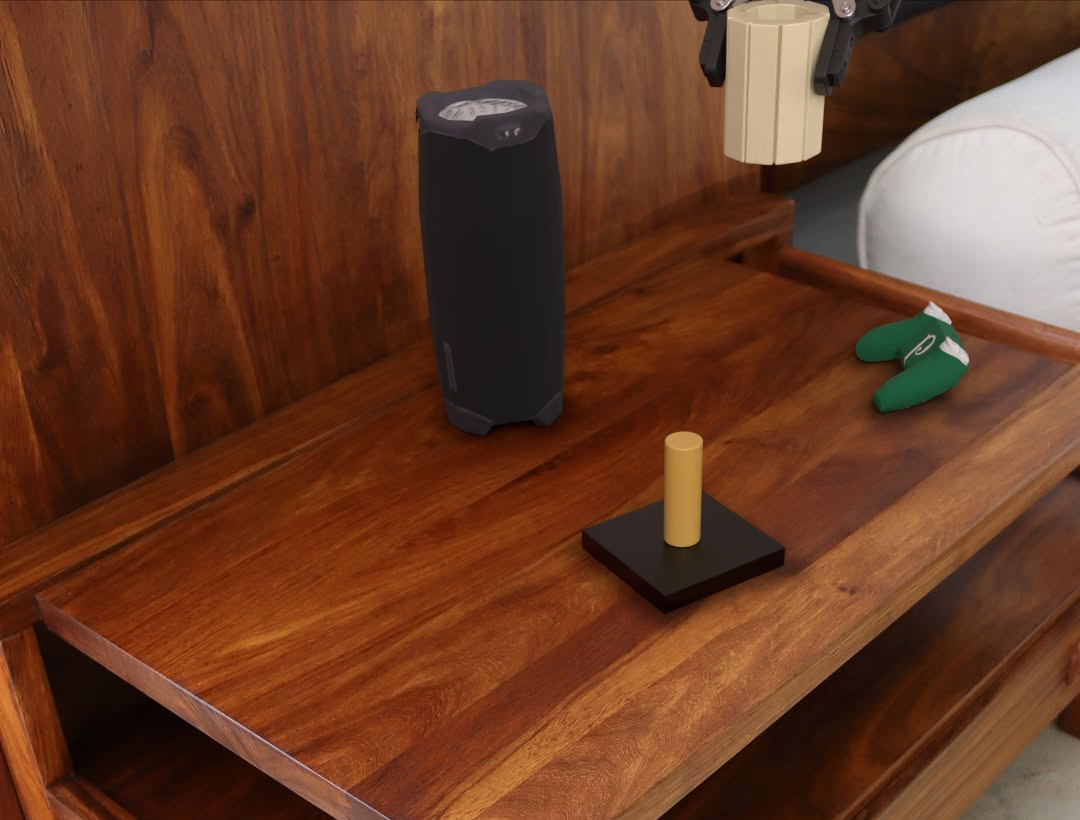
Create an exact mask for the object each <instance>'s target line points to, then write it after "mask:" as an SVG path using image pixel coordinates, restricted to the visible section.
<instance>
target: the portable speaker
mask: <svg viewBox="0 0 1080 820" xmlns="http://www.w3.org/2000/svg"><path fill="white" fill-rule="evenodd" d="M553 114H554V113H553V112H552V108H551V103H550V100H549V96H548V94H547V92H546V90H545V89H544V87H543V86H542V85H541V84H538V83H535V82H531V81H530V80H529V81H528V80H526V79H494V80H491V81H489V82H488V83H486V84H483V85H477V86H473V87H468V88H463V89H458V90H453V91H445V92H441V91H440V90H433V91H426V92H425V93H424V94H423V95H421V96H420V97H418V98H417V99H416V108H415V113H414V116H415V125H417V123H418V126H419V128H418V129H417V152H418V153H417V154H418V157H417V158H418V159H417V161H418V168H417V169H418V214H419V215H418V216H419V225H420V226H419V227H420V236H421V247H422V256H423V266H424V277H425V287H426V297H427V298H426V299H427V308H428V318H429V328H430V334H431V340H432V345H433V351H434V352H433V353H434V358H435V363H436V370H437V375H438V381H439V387H440V393H441V398H443V404H444V408H445V413H446V416H447V420H448V424H450V425H452V426H454V427H456V428H457V429H459V430H461V431H463V432H464V433H469V434H475V435H479V436H483V437H486V435H487V434H488V432H489V431H490V430H491V429H492V428H493V426H499V425H506V424H512V423H519V422H528V421H532V422H533V423H534V425H536V427H547V426H550V425H551V424H552V423H553V422H554V421H555V420H556V419H557V418H558V417H559V416H560V415H561V414H562V413H563V403H564V402H563V401H564V400H563V399H564V398H563V397H564V380H565V346H566V345H565V343H566V279H565V246H564V245H565V244H564V243H565V242H564V217H563V215H564V214H563V212H564V211H563V191H562V190H563V189H562V182H561V174H560V173H561V172H560V165H559V157H558V149H557V141H556V133H555V124H554V123H555V122H554V115H553Z"/></svg>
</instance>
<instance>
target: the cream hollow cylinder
mask: <svg viewBox="0 0 1080 820" xmlns="http://www.w3.org/2000/svg"><path fill="white" fill-rule="evenodd" d="M828 20H831V13H830V9H829V7H828V6H827V5H825V4H821V3H819V2H814V1H810V0H763V1H755V2H748V4H746V3H744V4H741V5H739V6H736V7H734V8H731V9H729V10H728V11H727V32H726V71H725V81H724V114H723V116H724V117H723V121H724V122H723V154H724V155H725V157H727V158H730V159H732V160H735V161H737V162H739V163H745V164H751V165H763V166H773V164H774V165H775V166H780V165H788V164H796V163H801V162H802V161H804V162H805V161H808V160H809V159H811V158H813V157H815V156H817V155H819V154H820V153H821V152H822V144H823V143H822V140H823V125H824V113H825V112H824V110H825V97H826V96H819V95H818V94H817V91H816V87H815V84H814V75H815V70H816V66H817V62H818V58H819V55H820V51H821V47H822V43H823V39H824V36H825V32H826V28H827V25H828Z"/></svg>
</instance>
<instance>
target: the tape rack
mask: <svg viewBox="0 0 1080 820" xmlns="http://www.w3.org/2000/svg"><path fill="white" fill-rule="evenodd" d="M703 451H704V440H703V437H702V436H701V435H699V434H698V433H695V432H692V431H676V432H673V433H670V434H669V435H666V437H665V439H664V455H663V456H664V458H663V459H664V460H663V462H664V465H663V467H664V468H663V469H664V470H663V471H664V474H663V499H661V500H658V501H655V502H653V503H651V504H647V505H645V506H642V507H639V508H637V509H633V510H631V511H628V512H626V513H623V514H621V515H618V516H615V517H612V518H610V519H607V520H604V521H601V522H599V523H596V524H594V525H591V526H588V527H585V528H583V529H581V548H582V549H583V550H585V552H587V553H588V554H589V555H591V556H592V557H593V558H594V559H595V560H597V562H599V563H600V564H602V566H604V567H605V568H607V569H608V570H609V571H611V572H612V573H613V574H614V575H616V576H617V577H618V578H619V579H620V580H621V581H623V582H624V583H625V584H627V585H628V586H629V587H630V588H632V589H633V590H634V591H635V592H637V593H638V594H639V595H640V596H642V597H643V598H644V599H645V600H647V601H648V602H649V603H651V604H652V605H653V606H654V607H655V608H657V609H658V610H659V611H660V612H662V613H663V614H664V615H665V614H668V613H671V612H673V611H675V610H678V609H680V608H683V607H685V606H688V605H691V604H693V603H695V602H698V601H700V600H703V599H705V598H708V597H710V596H713V595H715V594H717V593H720V592H722V591H725V590H727V589H729V588H732V587H734V586H737V585H740V584H742V583H744V582H747V581H750V580H753V579H755V578H756V577H759V576H761V575H762V576H763V575H764V574H766V573H769V572H771V571H774V570H776V569H779V568H781V567H784V566H785V559H786V546H784V545H783V544H782V543H780V542H779V541H777V540H775V539H774V538H773V537H772V536H770V535H769V534H767V533H765V532H764V531H763V530H761V529H759V528H758V527H756V526H755V525H753V524H752V523H751V522H749V521H747V519H745V518H743V517H742V516H740V515H739V514H737V513H736V512H735V511H733V510H732V509H730V508H729V507H727V506H726V505H725V504H723V503H722V502H720V501H718V499H716V498H714V497H713V496H711V495H710V494H708V493H707V492H705V491H704V490H702V489H703V459H704V458H703V457H704V455H703V453H704V452H703Z"/></svg>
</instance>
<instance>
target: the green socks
mask: <svg viewBox="0 0 1080 820" xmlns="http://www.w3.org/2000/svg"><path fill="white" fill-rule="evenodd" d="M952 323H953V321H952V320H951V318H950V317H949V315H948V314H947V313H946V312H945V311H944V310H943V309H942V308H941V307H940V306H938V305H937V304H935V303H934V302H933V301H932V300H930V301H928V305H927V306H926V307H925V308H924V309H922V310H921V311H920V312H919V313H918V314H917V315H914V316H912V317H911V318H906V319H902V320H898V321H893V322H890V323H886V324H883V325H880V326H878V327H877V326H876V327H874V328H873V329H870V330H868V331H867V332H865V333H864V334H863V335H862V336H861V337H860V338H859V340H857V342H856V344H855V345H856V346H855V353H856V355H857V357H858V358H859V360H861V361H863V362H871V363H874V362H887V361H896V360H897V361H898V360H900V363H901V366H902V369H903V371H901V372H899V373H898V374H896V375H894V376H893V377H891V378H888V380H886V381H885V382H884V383H883V384H882V385H881V386H880V388H878V389H877V390H876V391H875V393H874V394H873V396H872V403H873V404H874V405H875V407H876V409H877V410H878V412H879V413H890V412H894V411H899V410H904V409H908V408H911V407H914V406H917V405H920V404H922V403H925V402H927V401H930V400H931V399H934V398H936V397H938V396H940V395H941V394H944V393H945V392H947V391H949V390H950V389H951V390H952V389H953V390H954V389H955V388H956V387H957V386H959V381H960V380H961V379H962V377H963V376H964V375H965V374H966V373H967V372H968V371H969V369H970V358H969V354H968V352H966V350H965V347H964V345H963V341H962V339H961V337H960V336H959V334H958V332H957V331H956V329H955V328H954V327H953V325H952Z"/></svg>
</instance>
